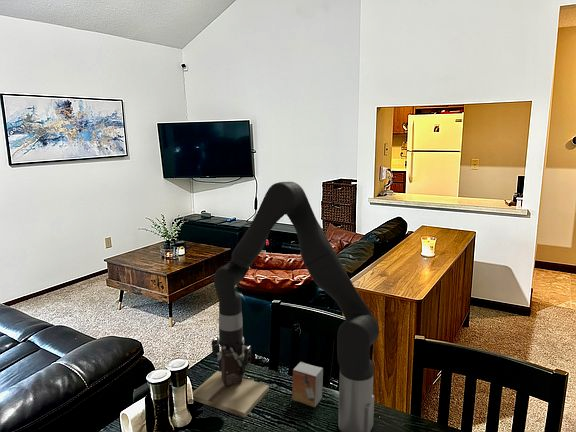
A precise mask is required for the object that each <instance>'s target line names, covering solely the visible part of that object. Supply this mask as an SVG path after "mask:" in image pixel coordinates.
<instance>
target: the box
mask: <svg viewBox="0 0 576 432" xmlns="http://www.w3.org/2000/svg"><path fill="white" fill-rule="evenodd" d="M221 350H222V356H221V368H222V371H221V372H222V382H223V384H224V385H225V386H229V385H233V384H236V383H240V382H242V378H243V376H239V364H238V362H237V360H235V358H234V356H233V353H232V352H231V351H230V349H226V350H224V349H222V347H221V346H220V351H221ZM241 354H242V350H240V351H239V353H238V354H237V355H238V356H239V355H241ZM240 359H241V361H242V357H241V358H240Z"/></svg>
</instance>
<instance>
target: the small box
mask: <svg viewBox="0 0 576 432" xmlns="http://www.w3.org/2000/svg"><path fill="white" fill-rule="evenodd" d="M323 376H324V368H323V367H321V366H316V365H312V364H310V363H305V362H304V361H299V363H297V365H296V366H295V367H294V368H293V369H292V392H291V393H292V394H291V395H292V396H291V397H292V398H291V399H292V401H295V402H299V403H302V404H304V405H307V406H310V407H312V408H316V407H317V406H318V404H319V402H321V400H322V399H323V380H324V379H323V378H324V377H323Z"/></svg>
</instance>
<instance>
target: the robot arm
mask: <svg viewBox="0 0 576 432" xmlns="http://www.w3.org/2000/svg"><path fill="white" fill-rule="evenodd" d="M262 199H263V200H262V201H261V203H260V206H259V208H258V210H257V212H256V214H255V216H254V217H253V219H252V221H251V223H250V225H249V227H248V229H247V230H246V231H245V232H244V235H243V236H242V237H241V238H240V240H239V241H238V243H237V244H236V246H235V247H234V249H233V250H232V252H231V259H230V260H229V262H227V263H226V264H225V265H223V266H221V267H218V269H217V270H216V271H215V272H214V274H213V275H214V277H213V284H214V285H213V286H214V289H215V292H216V293H215V294H216V296H217V298H218V337H214V338H213V339H212V340H211V341H210V342H211V350H212V357H213V358H216V359H217V360H218V369H219V371H220V372H222V368H221V356H222V350H221V347H222V349H224V350H226V349H230V351H231V352H232V353H233V356H234V358H235V360H237V362H238V364H239V376H242V375H243V374H244V375H245V373H246V366H248V365H249V364H250V363H251V362H252V346H251V345H250V344H249V345H245V344H244V345H243V342H242V338H243V337H244V329H243V326H244V325H243V312H242V297H241V294H240V293H239V292H237V291H236V290H235V289H236V288H235V286H236V285H238V284H239V283H240V282H242V281H243V279H244V278H245V277H246V275H247V274H248V272H249V270H250V269H251V268H250V267H251V266H252V265H253V263H254V262H255V260H256V259H257V258H258V257H259V255H260V253H261V252H262V251H263V249H264V248H265V245H266V242H267V240H268V236H269V234H270V232H271V230H272V229H273V228H274V226H275V225H276V223H278V222H279V221H280V220H281V219H282V218H283V217H284V216H285V215H286V216H287V217H288V219H289V220H290V222H291V224H292V227H294V230H295V232H296V236H297V239H298V246H299V250H300V251H299V252H300V256H301V259H302V262H303V264H304V267H305V268H306V270H307V273H308V274H309V275H310V277H311V279H312V280H313V282H314V283H315V284H316V285H317V286H318V287H319V288H320V289H322V291H324V293H326V294H327V295H328V296H330V297H331V298H332V299H333V300H334V301H335V303H336V304H337V306H338V307H339V309H340V310H341V313H342V315H343V317H344V319H345V320H344V321H343V322H342V323H341V324H340V325H339V327H338V330H337V335H336V338H337V339H336V341H337V342H336V349H337V350H336V352H337V362H338V365H339V383H338V384H339V385H338V390H339V391H338V412H337V413H338V414H337V415H338V418H337V420H338V422H337V427H338V429H339V431H340V432H371V431H372V428H373V427H374V416H375V415H374V414H375V413H374V411H375V395H374V376H375V375H374V374H375V373H374V372H375V365H374V362H373V360H372V359H371V355H370V353H371V346H372V345H373V344H374V343H375V342H376V341H377V339H378V338H379V335H380V325H379V323H378V321H377V319H376V318H375V316H374V315H373V313H372V311H371V310H370V309H369V307H368V305H366V303H365V301H364V300H363V298H362V297H361V295H360V293H358V291H357V289H356V287H355V286H354V284H353V282H352V280H351V278H350V276H348V273H347V272H346V270H345V268H344V266H343V264H342V262H341V259H340V258H339V256H338V255H337V253H336V251H335V249H334V248H333V246H332V244H331V243H330V241H329V239H328V237H327V236H326V234H325V231H324V230H323V228H322V227H321V224H320V223H319V222H318V219H317V218H316V216H315V212H314V211H313V209H312V206H311V204H310V202H309V199H308V196H307V195H306V193H305V191H304V189H303V188H302V186H301V185H299V184H298V183H297V182H295V181H279V182H275V183H273V184H272V185H271V186H270V187H269V188H268V190H267V191H266V193H265V195H264V197H263V198H262ZM242 349H243V351H242V354H241V355H239V356H238V355H237V354H238V353H239V351H240V350H242ZM241 357H242V361H241V359H240V358H241ZM244 375H243V376H244ZM243 376H242V377H243Z"/></svg>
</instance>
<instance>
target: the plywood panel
mask: <svg viewBox="0 0 576 432" xmlns="http://www.w3.org/2000/svg"><path fill="white" fill-rule="evenodd" d="M269 391H270V385H267V384H264V383H261V382H258V381H254V380H251V379H247V378H243V377H242V382H240V383H236V384H233V385H229V386H225V385H224V384H223V382H222V371H220V370H216V371H215V372H214V373H213V374H212V375H211V376H210V377H208V378H207V379H206V380H205V381H204V382H203V383H201V385H199V386H198V387H197V388H196V389H195V390H194V391H192V392H193V398H194V400H193V401H194V402H198V403H201V404H203V405H206V406H208V407H209V406H210V407H213V408H216V409H218V410H221V411H225V412H227V413H230V414H233V415H237V416H239V417H241V418H246V417H247V416H248V415H249V414H250V413H251V411H252V410H253V409H254V408H255V406H257V404H258V403H260V401H261V400H262V399H263V398H264V397H265V396H266V394H267V393H268V392H269Z"/></svg>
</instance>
